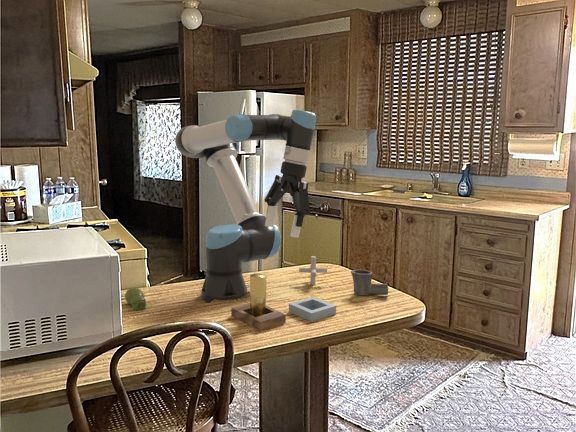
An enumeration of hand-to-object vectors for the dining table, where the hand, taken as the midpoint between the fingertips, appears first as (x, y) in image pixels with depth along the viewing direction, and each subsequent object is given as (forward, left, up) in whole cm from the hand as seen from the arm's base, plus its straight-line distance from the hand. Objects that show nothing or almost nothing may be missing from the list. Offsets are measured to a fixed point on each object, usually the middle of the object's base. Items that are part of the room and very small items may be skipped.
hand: (281, 231), depth 164 cm
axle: (0, -14, -23) cm, 27 cm away
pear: (-41, -18, -25) cm, 51 cm away
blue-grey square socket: (+12, -2, -25) cm, 27 cm away
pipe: (+21, +26, -25) cm, 42 cm away
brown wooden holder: (0, -14, -25) cm, 28 cm away
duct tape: (-8, -27, -25) cm, 38 cm away
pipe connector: (0, +28, -25) cm, 37 cm away
